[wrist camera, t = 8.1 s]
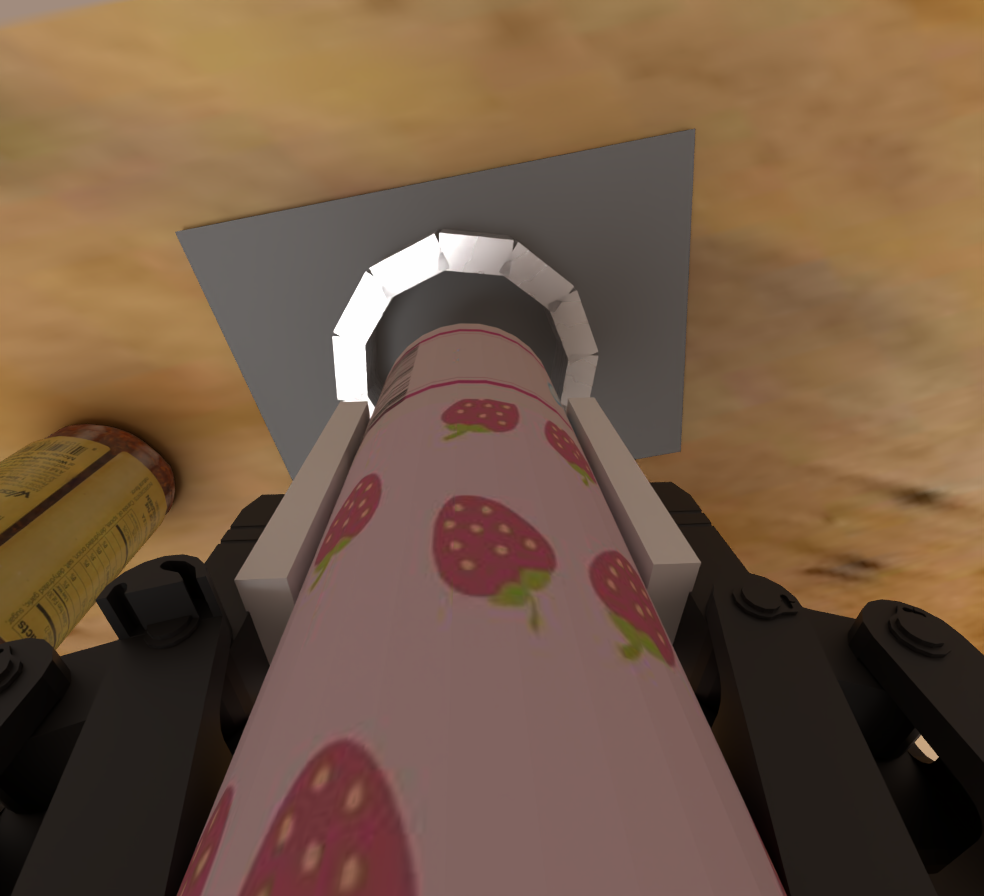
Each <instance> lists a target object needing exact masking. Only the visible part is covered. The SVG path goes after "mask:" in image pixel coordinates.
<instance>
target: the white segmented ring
mask: <svg viewBox="0 0 984 896" xmlns="http://www.w3.org/2000/svg"><path fill="white" fill-rule="evenodd" d="M444 270H446V271H457V272H469V273H480V274H491V275H502V276H505V277H506V278H507V279H509V280H510V281H511V282H513V283H514V284H515V285H517V286H518V287H519V288H521V289H522V290H523V291H525V292H526V293H527V294H529V295H530V296H531V297H533V298H534V299H535V300H537V301H538V302H539V303H541V304H542V305H543V308H544V310H545V313H546V315H547V318H548V320H549V323H550V325H551V328H552V331H553V333H554V336H555V338H556V341H557V344H556V350H555V357H554V363H553V369H552V375H551V383H552V385H553V387H554V389H555V391H556V393H557V396H558V398H559V400H560V402H561V404H562V406H563V409H564V411H565V413H566V411H567V401H568V398H583V397H590V394H591V389H592V385H593V380H594V375H595V370H596V366H597V361H598V355H597V353H596V352H598V349H597V346H596V343H595V340H594V338H593V335H592V332H591V329H590V326H589V323H588V320H587V317H586V315H585V312H584V309H583V306H582V303H581V300H580V297H579V294H578V292H577V290H576V289H575V288H574V286H573V285H572V284H571V283H570V282H568V281H567V280H566V279H565V278H563V277H562V276H561V275H559V274H558V273H557V272H556V271H554V270H553V269H552V268H551V267H549V266H548V265H547V264H546V263H544V262H543V261H542V260H541V259H539V258H538V257H537V256H535V255H534V254H533V253H532V252H530V251H529V250H528V249H527V248H525V247H524V246H523V245H522V244H520V243H519V242H518V241H516V240H515V239H514V238H513V237H509V236H508V235H502V234H492V233H482V232H472V231H462V230H451V229H442V230H441V231H440V233H439V231H438V230H436V231H434V232H432V233H430V234H428V235H426V236H424V237H422V238H421V239H419V240H417V241H415V242H413V243H411V244H409V245H407V246H405V247H404V248H402V249H400V250H398V251H396V252H394V253H392V254H390V255H388V256H386V257H385V258H383V259H381V260H379V261H378V262H377V263H375V264H374V265H373V266H371V267H370V269H368V270H367V271H366V272H365V274H364V276H363V278H362V280H361V281H360V283H359V285H358V287H357V289H356V291H355V292H354V294H353V296H352V298H351V300H350V302H349V304H348V305H347V307H346V309H345V311H344V313H343V315H342V317H341V318H340V320H339V322H338V324H337V326H336V328H335V330H334V331H333V332H335V334H334V335H333V336H332V337H333V349H334V362H335V374H336V386H337V399H338V400H341V401H340V402H354V401H368V405H369V412H370V419H371V416H372V414H373V411H374V409H375V406H376V404H377V401H378V399H379V396H380V394H381V391H382V389H383V387H384V384H383V383H382V381H381V380H380V378H379V377H378V373H377V343H376V327H377V325H378V324H379V322H380V320H381V319H382V317H383V315H384V313H385V312H386V310H387V308H388V306H389V305H390V303H391V301H392V300H393V298H394V296H395V295H397V294H399V293H401V292H403V291H405V290H407V289H409V288H411V287H413V286H415V285H417V284H419V283H421V282H423V281H425V280H427V279H429V278H431V277H432V276H434V275H436V274H438V273H440V272H442V271H444Z"/></svg>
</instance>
